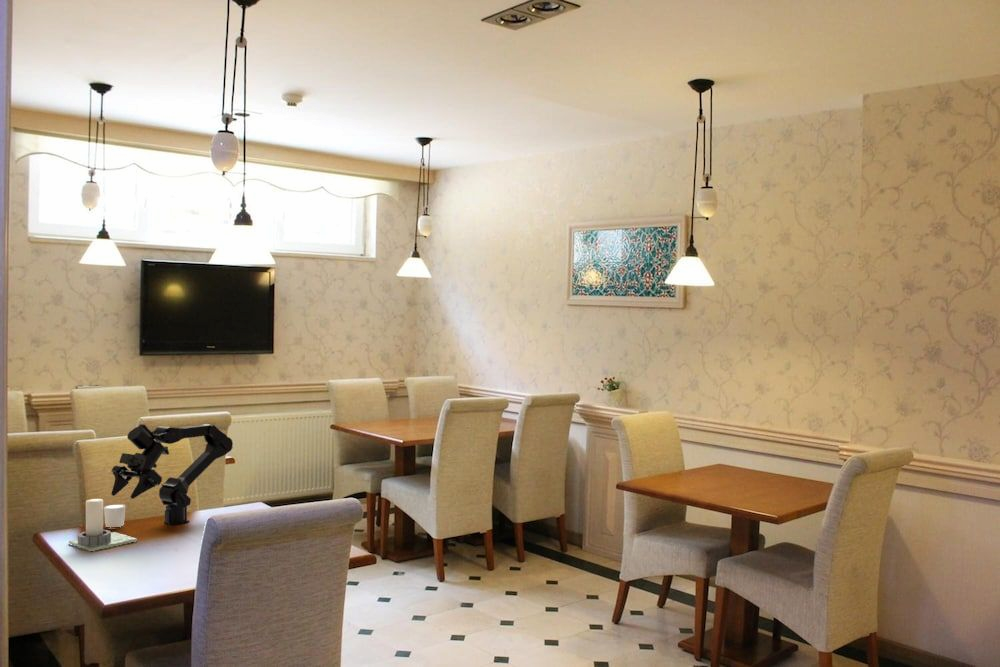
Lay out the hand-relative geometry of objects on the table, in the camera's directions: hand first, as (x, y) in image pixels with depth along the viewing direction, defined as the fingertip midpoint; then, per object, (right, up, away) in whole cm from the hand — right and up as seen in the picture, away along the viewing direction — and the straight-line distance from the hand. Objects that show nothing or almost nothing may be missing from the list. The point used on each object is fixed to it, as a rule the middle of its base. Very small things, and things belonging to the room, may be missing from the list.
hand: (121, 496), depth 280 cm
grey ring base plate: (-3, -14, -8) cm, 16 cm away
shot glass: (-9, -13, +14) cm, 21 cm away
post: (-5, -12, -9) cm, 16 cm away
